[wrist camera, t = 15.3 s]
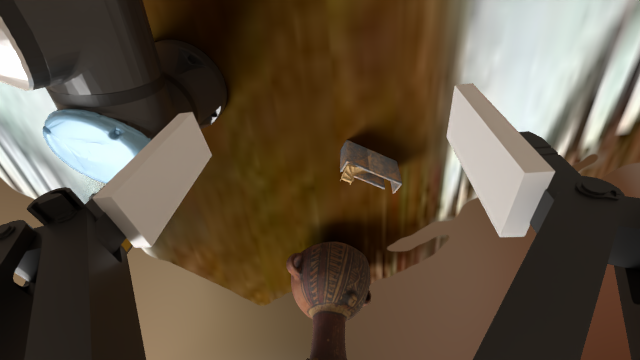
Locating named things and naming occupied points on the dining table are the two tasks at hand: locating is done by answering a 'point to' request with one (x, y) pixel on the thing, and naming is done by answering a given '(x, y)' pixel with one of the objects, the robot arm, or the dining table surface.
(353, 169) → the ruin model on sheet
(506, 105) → the dining table surface
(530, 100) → the dining table surface
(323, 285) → the vase
